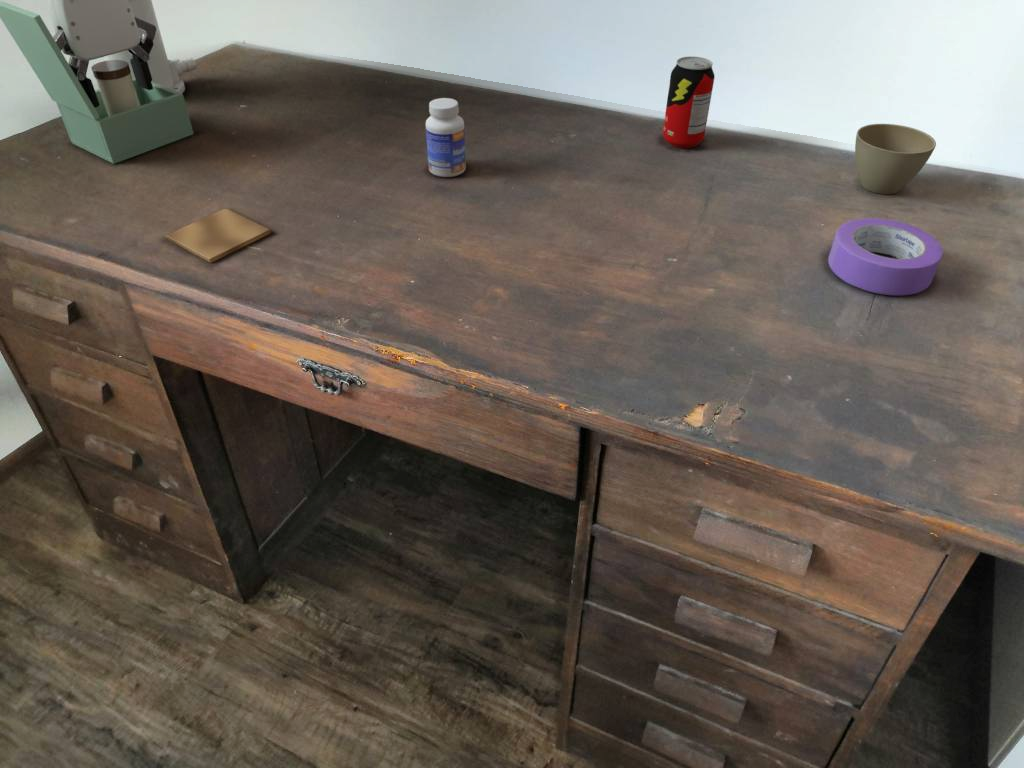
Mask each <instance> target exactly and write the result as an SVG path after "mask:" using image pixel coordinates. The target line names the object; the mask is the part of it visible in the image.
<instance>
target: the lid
mask: <svg viewBox="0 0 1024 768" xmlns="http://www.w3.org/2000/svg"><path fill="white" fill-rule="evenodd" d="M0 20H1V21H2V23H3V25H4V26H5V28H6V29H7V31H8V32H9V35H10V36H11V37H12V39H13V40H14V42H15V44H16V45H17V47H18V48H19V50H20V51H21V53H22V55H23V57H24V58H25V60H26V61H27V63H28V64H29V65H30V67H31V69H32V71H33V72H34V73H35V75H36V77H37V78H38V81H40V83H41V85H42V87H43V88H44V89H45V91H46V92H47V94H48V96H49V97H50V99H51V100H52V101H53V102H55V103H56V102H57V103H59V104H62V105H64V106H66V107H68V108H70V109H73V110H75V111H77V112H79V113H81V114H84V115H86V116H88V117H90V118H92V119H95V120H96V119H98V118H99V117H100V116H99V115H98V113H97V111H96V110H95V108H94V106H93V104H92V103H91V101H90V99H89V98H88V96H87V94H86V93H85V91H84V89H83V88H82V86H81V84H80V82H79V81H78V79H77V77H76V76H75V74H74V72H73V71H72V69H71V67H70V66H69V64H68V63H69V61H68V60H67V59H66V57H65V56H64V55H65V54H64V53H63V52H62V51H61V50H60V49H59V47H58V45H57V44H56V42H55V40H54V39H53V37H54V36H53V35H52V33H51V31H50V30H49V29H48V27H47V25H46V24H45V22H44V19H42V17H41V15H40V14H38V13H35V12H32V11H30V10H27V9H24V8H21V7H19V6H15V5H13V4H10V3H7V2H6V1H2V0H0ZM57 103H56V104H57Z"/></svg>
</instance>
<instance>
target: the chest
mask: <svg viewBox="0 0 1024 768" xmlns="http://www.w3.org/2000/svg"><path fill="white" fill-rule="evenodd" d="M132 80H133V83H134V86H135V89H136V93H137V96H138V99H139V102H140V106H139V107H136V108H133V109H130V110H127V111H124V112H121V113H118V114H115V115H112V116H109V117H108V114H107V111H106V108H105V105H104V102H103V99H102V96H101V93H100V90H99V88H98V89H94V90H95V92H96V95H97V98H98V101H99V104H100V105H99V106H98V107H94V108H95V110H96V111H97V113H98V115H99V116H100V117H99V118H98V119H96V120H95V119H92V118H90V117H88V116H86V115H84V114H81V113H79V112H77V111H75V110H73V109H70V108H68V107H66V106H64V105H62V104H59V103H57V102H55V103H56V105H57V109H58V111H59V113H60V116H61V119H62V122H63V124H64V127H65V129H66V132H67V135H68V137H69V140H70V142H71V144H72V145H74V146H77V147H79V148H81V149H82V150H85V151H86V152H89V153H91V154H93V155H96V156H97V157H99V158H101V159H103V160H104V161H107V162H108V163H111V164H113V165H115V164H118V163H120V162H123V161H125V160H128V159H130V158H134V157H136V156H138V155H141V154H142V155H143V154H144V153H147V152H150V151H153V150H155V149H158V148H161V147H163V146H167V145H169V144H171V143H174V142H177V141H180V140H182V139H186V138H187V137H190V136H193V135H194V134H195V133H194V129H193V126H192V123H191V118H190V115H189V112H188V108H187V104H186V100H185V97H184V94H183V93H182V94H181V93H179V92H176V91H174V90H171V89H169V88H166V87H164V86H161V85H158V84H156V83H153V82H151V83H152V86H153V89H152V90H147V89H144V88H142V87H139V86H138V85H137V82H136V79H135V78H134V79H132Z"/></svg>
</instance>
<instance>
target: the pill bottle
mask: <svg viewBox="0 0 1024 768" xmlns="http://www.w3.org/2000/svg"><path fill="white" fill-rule="evenodd" d="M459 109H460V108H459V102H458V101H457V100H456V99H455V98H449V97H441V98H440V97H439V98H434V99H432V100H431V101H429V103H428V112H429V115H430V116H429V117H428V118H426V120H425V136H426V137H425V138H426V149H427V150H426V152H427V164H428V170H429V173H431V174H432V175H434V176H437V177H440V178H453V177H457V176H460V175H462V174H463V173H464V172H465V171H466V168H467V160H466V137H465V136H466V134H465V133H466V132H465V121H464V119H463V117H461V116H460V115H458V114H459V112H460V110H459Z"/></svg>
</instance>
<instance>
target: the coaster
mask: <svg viewBox="0 0 1024 768" xmlns="http://www.w3.org/2000/svg"><path fill="white" fill-rule="evenodd" d="M270 234H271V230H270V228H268V227H266V226H264V225H261V224H259V223H257V222H256V221H253V220H251V219H249V218H247V217H245V216H243V215H240V214H238V213H237V212H235V211H233V210H230V209H229V208H223V209H221V210H218V211H217V212H214V213H212V214H210V215H208V216H205V217H203V218H201V219H198V220H196V221H194V222H191V223H189V224H188V225H185V226H183V227H180V228H179V229H176V230H174V231H172V232H170V233H167V234H165V238H166V240H167V241H169V242H171V243H173V244H174V245H177V246H179V247H180V248H182V249H184V250H186V251H188V252H189V253H191V254H193V255H195V256H197V257H198V258H200V259H202V260H204V261H206V262H208V263H210V264H212V263H214V262H216V261H218V260H220V259H222V258H224V257H226V256H228V255H230V254H232V253H234V252H237V251H238V250H240V249H242V248H244V247H246V246H248V245H250V244H252V243H254V242H256V241H258V240H260V239H262V238H264V237H266V236H268V235H270Z"/></svg>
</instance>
